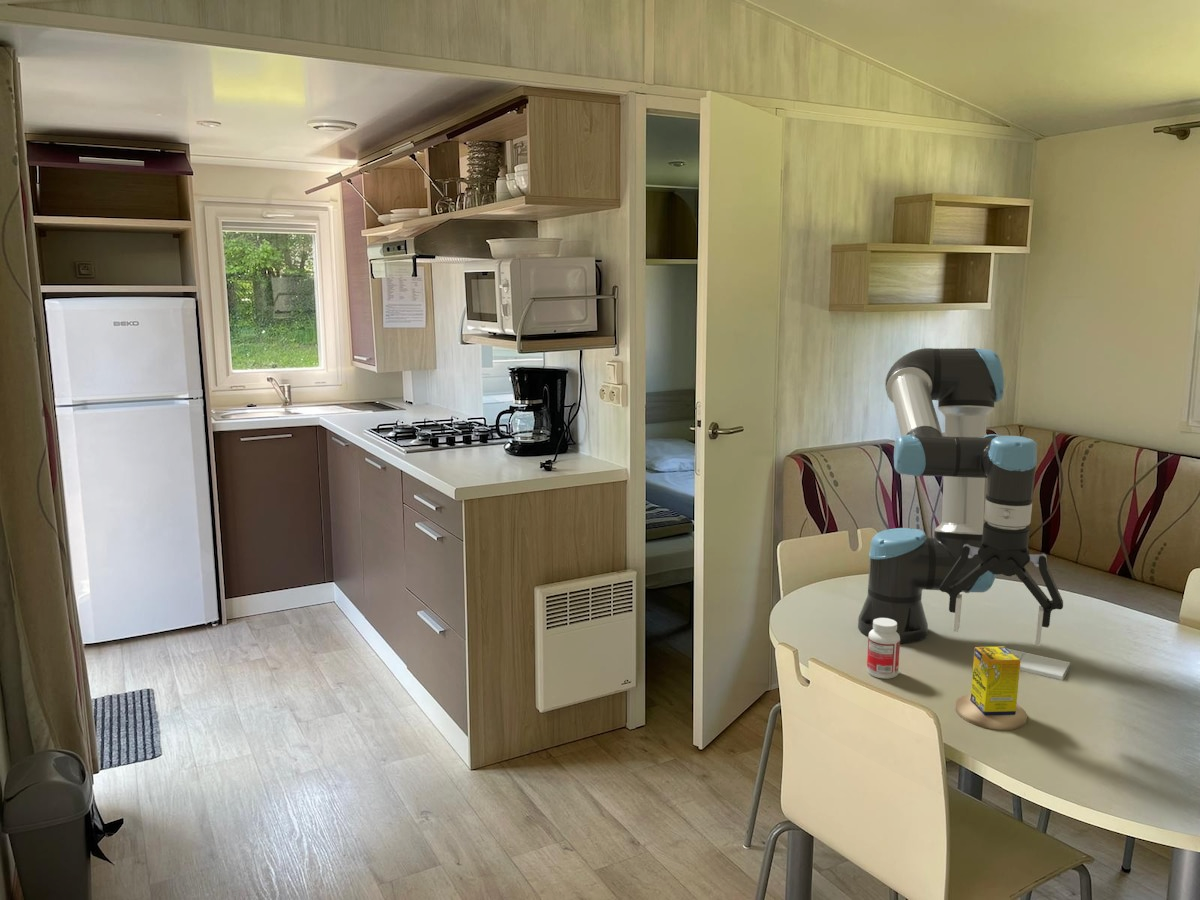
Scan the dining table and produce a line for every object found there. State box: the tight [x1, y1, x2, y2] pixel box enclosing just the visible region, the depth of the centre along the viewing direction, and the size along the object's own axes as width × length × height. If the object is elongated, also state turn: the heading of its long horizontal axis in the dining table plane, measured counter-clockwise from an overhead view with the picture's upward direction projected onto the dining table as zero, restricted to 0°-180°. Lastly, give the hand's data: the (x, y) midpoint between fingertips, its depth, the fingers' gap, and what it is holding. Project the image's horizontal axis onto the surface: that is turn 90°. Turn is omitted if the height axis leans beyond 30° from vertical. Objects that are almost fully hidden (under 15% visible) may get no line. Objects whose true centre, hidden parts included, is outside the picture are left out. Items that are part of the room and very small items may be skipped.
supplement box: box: [970, 646, 1021, 716], centre depth 164 cm, size 6×6×11 cm
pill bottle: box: [866, 618, 901, 679], centre depth 181 cm, size 6×6×11 cm
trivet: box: [955, 694, 1028, 731], centre depth 165 cm, size 12×12×1 cm
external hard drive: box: [1007, 648, 1071, 681], centre depth 186 cm, size 2×8×12 cm
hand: (996, 635), depth 163 cm, fingers open, 13 cm apart
